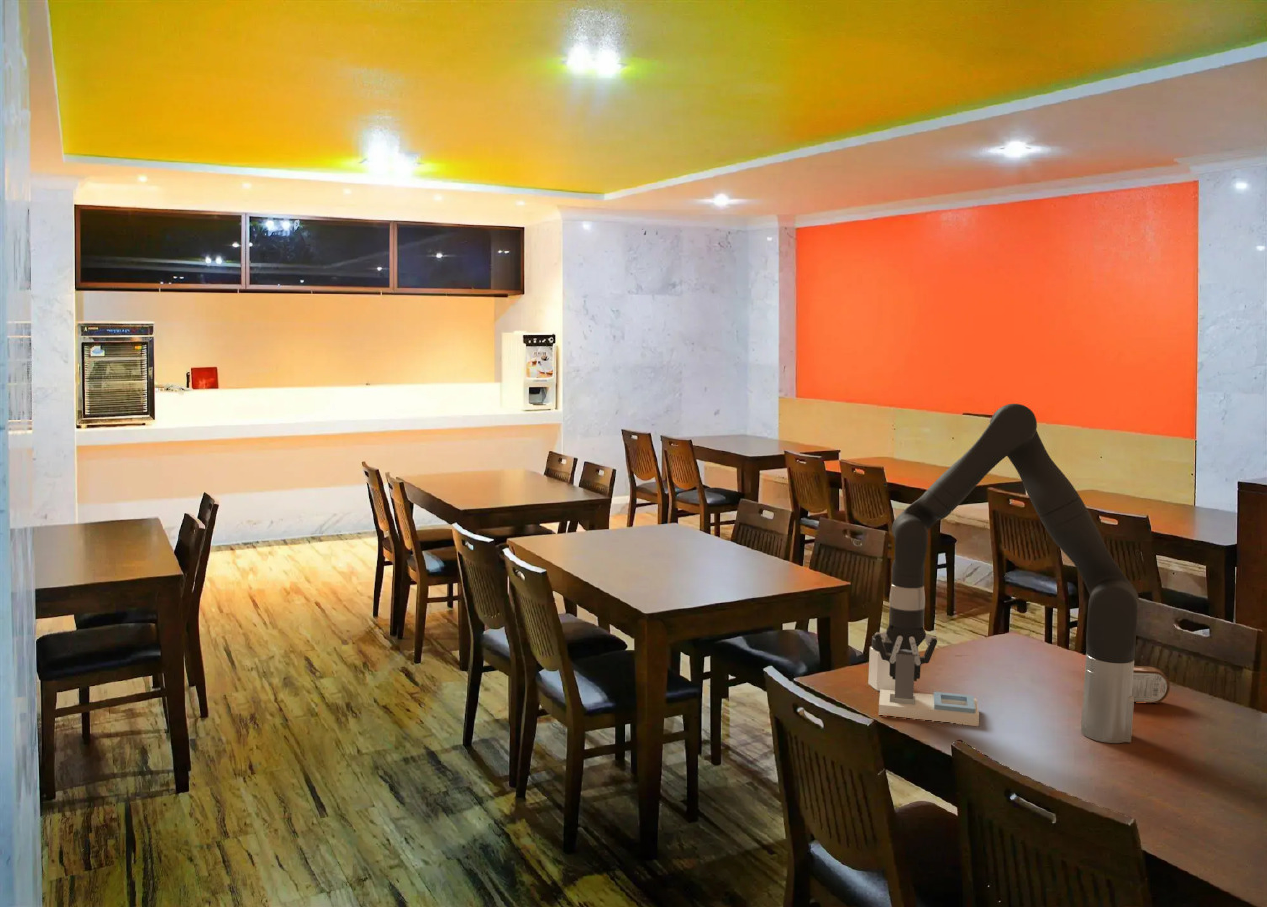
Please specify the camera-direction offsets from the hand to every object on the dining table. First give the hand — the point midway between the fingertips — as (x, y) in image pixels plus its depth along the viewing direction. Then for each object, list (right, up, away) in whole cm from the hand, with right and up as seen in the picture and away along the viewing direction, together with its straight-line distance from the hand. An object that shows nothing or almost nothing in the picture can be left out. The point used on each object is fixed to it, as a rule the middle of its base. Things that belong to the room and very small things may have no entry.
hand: (904, 678), depth 228 cm
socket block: (+5, -7, 0) cm, 9 cm away
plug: (0, -4, 0) cm, 4 cm away
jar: (0, -6, +16) cm, 17 cm away
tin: (+55, -7, +8) cm, 56 cm away
